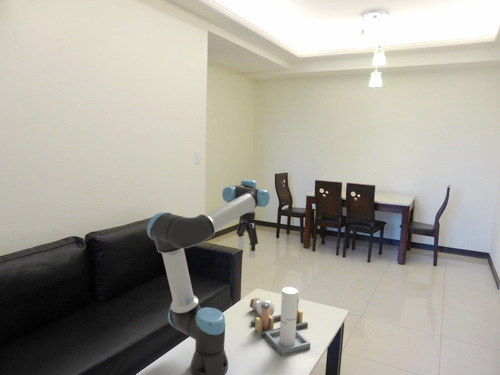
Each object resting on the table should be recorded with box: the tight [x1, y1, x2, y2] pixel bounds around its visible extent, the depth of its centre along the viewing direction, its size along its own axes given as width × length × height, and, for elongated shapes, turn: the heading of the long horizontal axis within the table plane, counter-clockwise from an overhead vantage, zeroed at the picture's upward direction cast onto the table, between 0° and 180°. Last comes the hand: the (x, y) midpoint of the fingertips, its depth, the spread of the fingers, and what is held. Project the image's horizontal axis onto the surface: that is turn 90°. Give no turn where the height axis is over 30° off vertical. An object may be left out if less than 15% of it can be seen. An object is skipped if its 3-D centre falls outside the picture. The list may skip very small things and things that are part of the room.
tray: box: [265, 329, 311, 357], centre depth 160 cm, size 15×15×2 cm
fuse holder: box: [250, 308, 309, 338], centre depth 175 cm, size 26×13×6 cm, turn 115°
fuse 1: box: [260, 303, 270, 332], centre depth 171 cm, size 4×4×13 cm
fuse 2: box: [296, 298, 300, 324], centre depth 178 cm, size 4×4×13 cm
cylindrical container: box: [279, 286, 299, 346], centre depth 159 cm, size 7×7×25 cm
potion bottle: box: [249, 297, 276, 317], centre depth 186 cm, size 9×10×15 cm
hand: (246, 252), depth 173 cm, fingers open, 13 cm apart
